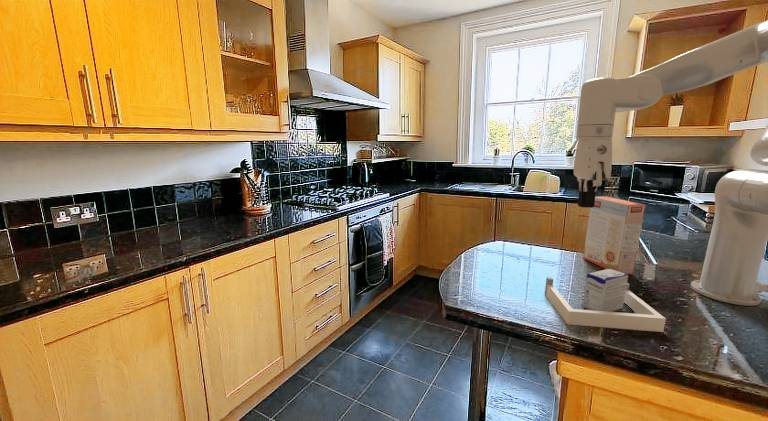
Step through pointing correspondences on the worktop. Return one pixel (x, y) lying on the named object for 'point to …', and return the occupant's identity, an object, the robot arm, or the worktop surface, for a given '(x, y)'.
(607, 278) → the box
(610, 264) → the cracker box
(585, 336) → the worktop surface
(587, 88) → the robot arm
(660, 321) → the dock
